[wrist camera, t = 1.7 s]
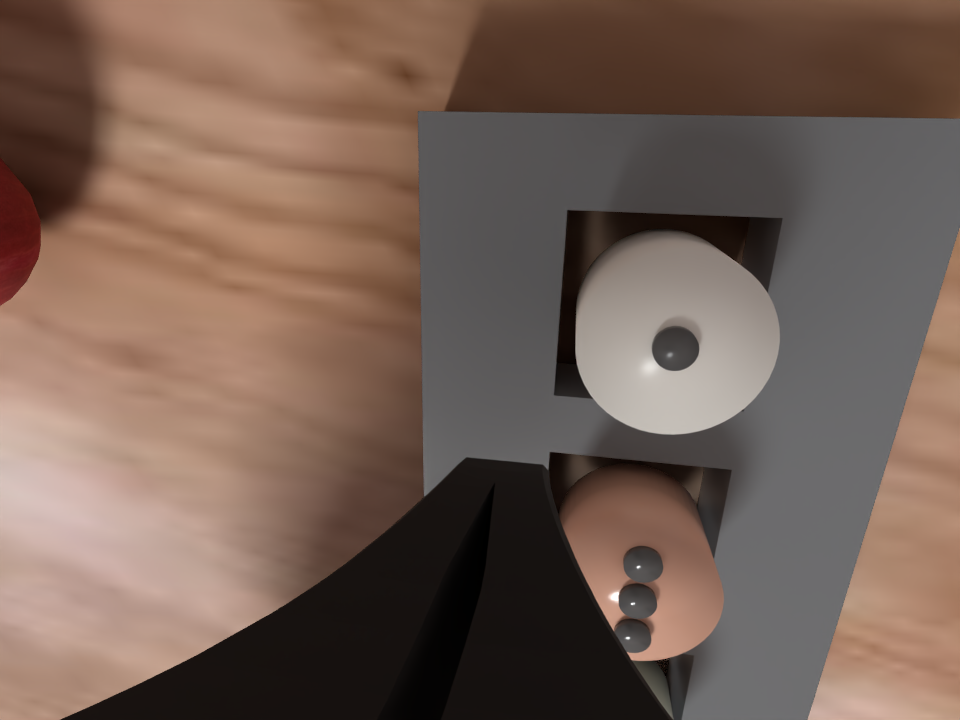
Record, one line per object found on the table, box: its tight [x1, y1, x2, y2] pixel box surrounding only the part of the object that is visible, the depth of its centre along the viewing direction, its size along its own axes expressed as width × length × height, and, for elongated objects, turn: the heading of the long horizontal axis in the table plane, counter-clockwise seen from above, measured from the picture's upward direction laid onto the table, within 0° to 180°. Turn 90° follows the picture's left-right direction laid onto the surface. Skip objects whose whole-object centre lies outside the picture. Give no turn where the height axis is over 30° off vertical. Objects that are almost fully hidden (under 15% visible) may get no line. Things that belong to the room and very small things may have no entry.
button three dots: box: [559, 464, 724, 661], centre depth 15 cm, size 4×4×3 cm
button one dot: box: [575, 229, 780, 435], centre depth 13 cm, size 4×4×3 cm
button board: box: [418, 111, 960, 720], centre depth 17 cm, size 22×12×2 cm, turn 179°
